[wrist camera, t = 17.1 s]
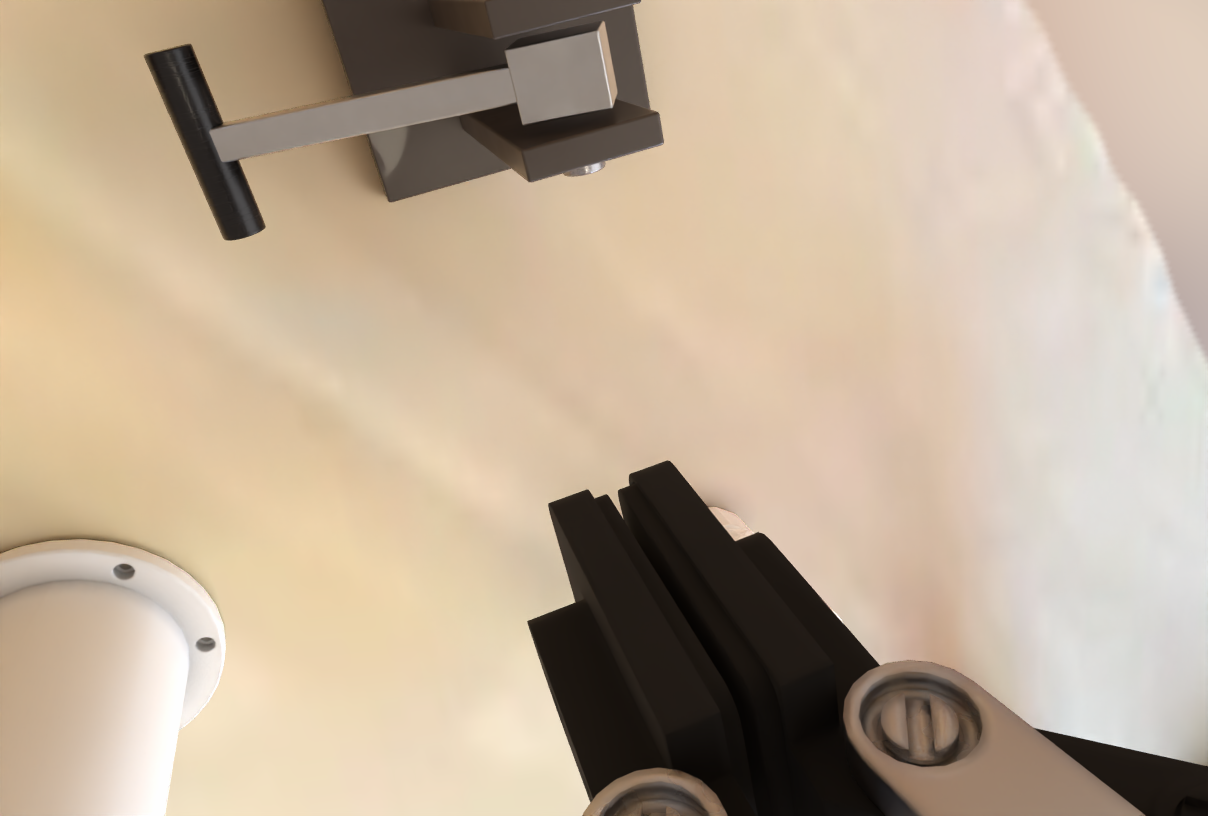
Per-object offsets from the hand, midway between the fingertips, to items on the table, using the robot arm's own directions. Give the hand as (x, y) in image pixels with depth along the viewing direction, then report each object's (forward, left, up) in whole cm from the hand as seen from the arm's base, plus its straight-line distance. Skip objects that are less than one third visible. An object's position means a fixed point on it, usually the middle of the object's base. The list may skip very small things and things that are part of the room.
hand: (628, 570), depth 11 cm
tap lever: (-1, +4, -21) cm, 22 cm away
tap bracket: (+4, +5, -29) cm, 30 cm away
